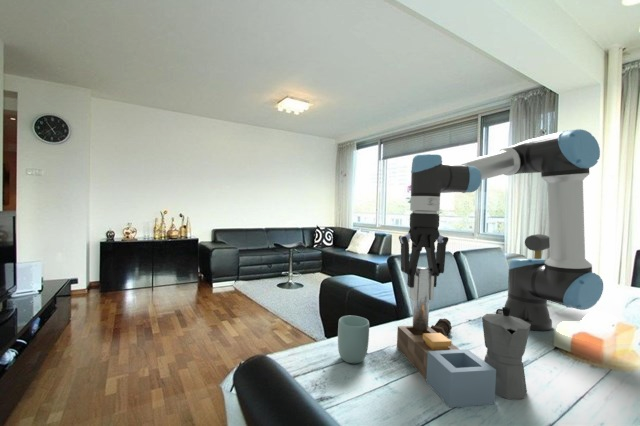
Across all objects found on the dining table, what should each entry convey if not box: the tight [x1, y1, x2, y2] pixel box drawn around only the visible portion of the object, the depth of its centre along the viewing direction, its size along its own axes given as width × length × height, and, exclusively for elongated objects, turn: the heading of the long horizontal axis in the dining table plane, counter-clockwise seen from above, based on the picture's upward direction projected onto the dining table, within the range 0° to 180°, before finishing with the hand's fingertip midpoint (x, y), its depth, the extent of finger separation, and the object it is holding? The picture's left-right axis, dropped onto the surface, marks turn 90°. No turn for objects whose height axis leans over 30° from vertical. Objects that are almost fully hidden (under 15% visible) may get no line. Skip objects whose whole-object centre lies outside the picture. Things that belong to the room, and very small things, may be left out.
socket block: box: [396, 325, 461, 380], centre depth 79 cm, size 9×16×6 cm, turn 10°
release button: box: [423, 333, 453, 350], centre depth 75 cm, size 5×5×7 cm
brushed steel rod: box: [412, 266, 430, 330], centre depth 83 cm, size 4×4×16 cm
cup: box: [337, 315, 370, 364], centre depth 79 cm, size 8×8×10 cm
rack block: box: [425, 348, 496, 408], centre depth 66 cm, size 10×9×7 cm
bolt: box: [429, 318, 453, 339], centre depth 96 cm, size 6×5×15 cm
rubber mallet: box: [524, 233, 550, 259], centre depth 141 cm, size 12×8×30 cm, turn 125°
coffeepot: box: [481, 306, 531, 401], centre depth 70 cm, size 15×9×18 cm, turn 159°
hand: (421, 298), depth 83 cm, fingers closed on brushed steel rod, 4 cm apart
